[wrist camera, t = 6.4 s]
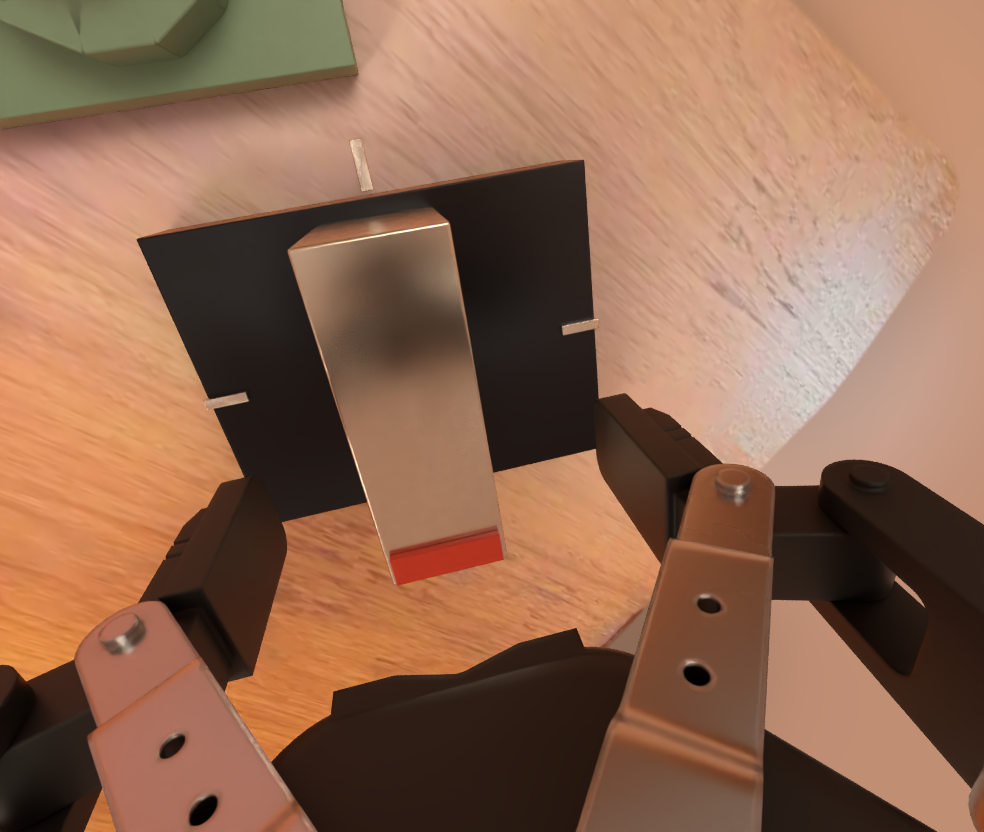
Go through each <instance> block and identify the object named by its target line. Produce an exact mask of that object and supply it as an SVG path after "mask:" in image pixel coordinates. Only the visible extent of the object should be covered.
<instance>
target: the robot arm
mask: <svg viewBox="0 0 984 832" xmlns="http://www.w3.org/2000/svg"><path fill="white" fill-rule="evenodd" d="M593 415H594V429H595V442H596V455H597V461H598V465H599V469H600V472H601V474H602V476H603V478H604V480H605V482H606V483H607V484H608V486H609V487H610V489H611V490H612V492H613V493H614V495H615V496H616V498H617V499H618V501H619V502H620V504H621V505H622V507H623V508H624V510H625V511H626V513H627V514H628V516H629V517H630V519H631V520H632V522H633V523H634V525H635V526H636V528H637V529H638V531H639V532H640V534H641V535H642V537H643V538H644V540H645V541H646V543H647V544H648V546H649V547H650V549H651V550H652V552H653V553H654V554H655V556H656V557H657V559H658V560H659V562H660V563H661V567H660V570H659V574H658V577H657V581H656V584H655V588H654V591H653V594H652V598H651V601H650V605H649V608H648V612H647V615H646V618H645V622H644V625H643V629H642V632H641V636H640V639H639V642H638V646H637V649H636V653H635V655H633V654H630V653H627V652H623V651H619V650H614V649H610V648H601V647H584V646H583V643H582V641H581V638H580V636H579V633H578V631H577V628H575V629H571V630H567V631H563V632H560V633H556V634H552V635H548V636H544V637H540V638H537V639H533V640H529V641H525V642H521V643H518V644H516V645H514V646H512V647H510V648H508V649H507V650H505V651H503V652H501V653H499V654H497V655H495V656H493V657H491V658H489V659H487V660H485V661H484V662H482V663H480V664H478V665H476V666H474V667H472V668H470V669H468V670H466V671H464V672H462V673H458V674H444V675H397V676H391V677H388V678H384V679H380V680H376V681H372V682H368V683H365V684H361V685H357V686H353V687H349V688H345V689H342V690H338V691H334V692H333V701H332V709H331V715H329V716H327V717H326V718H324V719H322V720H321V721H319V722H318V723H316V724H314V725H313V726H311V727H310V728H308V729H307V730H306V731H305V732H303V733H302V734H301V735H299V736H298V737H297V738H296V739H294V740H293V741H292V742H291V743H290V744H289V745H288V746H287V747H286V748H285V749H283V750H282V751H281V752H280V753H279V754H278V756H277V757H276V758H275V759H274V760H273V761H272V762H270V760H269V759H268V757H267V756H266V754H265V753H264V751H263V750H262V748H261V747H260V745H259V744H258V742H257V741H256V739H255V738H254V736H253V735H252V733H251V732H250V730H249V729H248V727H247V726H246V724H245V723H244V721H243V720H242V718H241V717H240V715H239V714H238V712H237V711H236V709H235V707H234V706H233V704H232V703H231V701H230V700H229V698H228V697H227V695H226V694H225V689H226V686H227V683H228V682H229V681H233V680H237V679H241V678H245V677H249V676H253V672H254V668H255V665H256V661H257V658H258V654H259V650H260V647H261V643H262V640H263V636H264V633H265V629H266V625H267V622H268V618H269V615H270V611H271V607H272V604H273V600H274V597H275V593H276V590H277V586H278V582H279V579H280V575H281V572H282V568H283V564H284V561H285V557H286V553H287V539H286V534H285V530H284V527H283V525H282V523H281V521H280V518H279V516H278V514H277V512H276V509H275V507H274V505H273V503H272V500H271V498H270V496H269V494H268V491H267V489H266V487H265V485H264V483H263V481H262V479H261V478H260V477H259V476H257V475H254V476H250V477H245V478H241V479H236V480H232V481H228V482H223V483H221V484H220V486H219V487H218V489H217V491H216V493H215V494H214V496H213V498H212V500H211V502H210V504H209V505H208V507H207V508H204V509H201V510H200V511H199V512H198V513H197V514H196V515H195V516H194V517H192V518H191V519H190V520H189V521H188V522H187V523H186V524H185V525H184V526H183V528H182V529H181V531H180V533H179V534H178V536H177V538H176V539H175V541H174V546H171V548H170V550H169V551H168V553H167V555H166V560H163V562H162V563H161V565H160V567H159V568H158V570H157V572H156V574H155V575H154V577H153V579H152V580H151V582H150V584H149V585H148V587H147V589H146V591H145V592H144V594H143V596H142V597H141V599H140V601H139V602H138V603H137V604H134V605H131V606H129V607H127V608H124V609H122V610H120V611H118V612H117V613H115V614H113V615H111V616H110V617H108V618H107V619H105V620H104V621H103V622H101V623H100V624H99V625H98V626H96V627H95V628H94V629H93V630H92V631H91V632H90V633H89V634H88V635H87V636H86V637H85V638H84V640H83V641H82V642H81V644H80V645H79V647H78V649H77V651H76V653H75V658H74V660H73V661H70V662H68V663H66V664H64V665H62V666H59V667H57V668H55V669H53V670H51V671H48V672H46V673H44V674H42V675H40V676H38V677H35V678H33V679H31V680H29V681H27V682H26V681H25V680H24V679H23V678H22V677H21V675H20V674H19V673H18V672H17V671H16V670H15V669H14V668H13V667H11V666H9V665H0V832H84V830H85V828H86V825H87V823H88V821H89V818H90V816H91V814H92V811H93V809H94V806H95V804H96V802H97V799H98V797H99V794H100V792H101V790H102V788H103V791H104V794H105V798H106V801H107V804H108V807H109V810H110V813H111V816H112V819H113V823H114V826H115V829H116V832H937V831H935V830H934V829H932V828H930V827H928V826H927V825H925V824H923V823H922V822H920V821H918V820H917V819H915V818H913V817H912V816H910V815H908V814H907V813H905V812H903V811H902V810H900V809H898V808H897V807H895V806H893V805H891V804H890V803H888V802H886V801H885V800H883V799H881V798H880V797H878V796H876V795H875V794H873V793H871V792H870V791H868V790H866V789H865V788H863V787H861V786H860V785H858V784H856V783H854V782H853V781H851V780H849V779H848V778H846V777H844V776H843V775H841V774H839V773H838V772H836V771H834V770H833V769H831V768H829V767H827V766H826V765H824V764H823V763H821V762H819V761H817V760H816V759H814V758H812V757H811V756H809V755H807V754H806V753H804V752H802V751H801V750H799V749H797V748H795V747H794V746H792V745H791V744H789V743H787V742H786V741H784V740H782V739H781V738H779V737H777V736H776V735H774V734H772V733H771V732H769V731H767V730H765V709H766V692H767V673H768V654H769V634H770V616H771V600H808V601H810V603H811V604H812V605H813V606H814V607H815V608H816V610H817V611H818V612H819V613H820V614H821V615H822V616H823V618H824V619H825V620H826V621H827V622H828V623H829V625H830V626H831V627H832V628H833V629H834V630H835V632H836V633H837V634H838V635H839V636H840V637H841V638H842V640H844V642H845V643H846V644H847V645H848V647H849V648H850V649H851V650H852V651H853V652H854V653H855V655H856V656H857V657H858V658H859V659H860V660H861V662H862V663H863V664H864V665H865V666H866V667H867V669H869V671H870V672H871V673H872V674H873V676H874V677H875V678H876V679H877V680H878V681H879V682H880V684H881V685H882V686H883V687H884V688H885V689H886V691H887V692H888V693H889V694H890V695H891V696H892V698H893V699H894V700H895V701H896V702H897V703H898V704H899V705H900V707H901V708H902V709H903V710H904V711H905V712H906V714H907V715H908V716H909V717H910V718H911V719H912V721H913V722H914V723H915V724H916V725H917V726H918V727H919V729H920V730H921V731H922V732H923V733H924V735H925V736H926V737H927V738H928V739H929V740H930V741H931V743H932V744H933V745H934V746H935V747H936V748H937V750H938V751H939V752H940V753H941V754H942V755H943V757H944V758H945V759H946V760H947V761H948V762H949V763H950V765H951V766H952V767H953V768H954V769H955V770H956V771H957V773H958V774H959V775H960V776H961V777H962V778H963V779H964V781H965V782H966V783H967V784H968V785H969V787H970V788H971V792H970V795H969V810H970V815H971V818H972V821H973V824H974V826H975V828H976V830H977V832H984V525H983V524H982V523H980V522H979V521H977V520H976V519H974V518H973V517H971V516H969V515H968V514H967V513H965V512H963V511H962V510H960V509H959V508H957V507H956V506H954V505H953V504H951V503H950V502H948V501H947V500H945V499H944V498H942V497H941V496H939V495H937V494H936V493H935V492H933V491H931V490H930V489H928V488H927V487H925V486H924V485H922V484H921V483H919V482H918V481H916V480H915V479H913V478H912V477H910V476H909V475H907V474H905V473H904V472H902V471H900V470H898V469H896V468H894V467H891V466H888V465H885V464H882V463H878V462H873V461H866V460H844V461H838V462H834V463H832V464H829V465H828V466H826V467H825V468H824V469H823V472H822V474H821V480H820V485H817V486H774V484H773V482H772V481H771V479H770V478H769V477H767V476H766V475H765V474H763V473H762V472H760V471H758V470H756V469H753V468H750V467H747V466H743V465H737V464H723V463H722V462H721V461H720V460H718V459H717V458H716V457H715V456H714V455H713V454H712V453H711V452H710V451H709V450H707V449H706V448H705V447H704V446H703V445H702V444H701V443H700V442H699V441H697V440H696V439H695V438H694V437H691V434H690V433H689V432H687V431H686V430H685V429H684V428H681V425H680V424H679V423H677V422H676V421H675V420H674V419H673V418H672V417H671V416H670V415H668V414H665V413H663V412H660V411H658V410H655V409H653V408H647V409H642V408H641V407H639V406H638V405H637V404H636V403H635V402H634V401H633V400H632V399H631V398H630V397H629V396H628V395H627V394H625V393H623V394H619V395H614V396H610V397H605V398H601V399H596V400H595V401H594V403H593ZM896 575H897V576H898V577H899V578H900V579H901V580H902V581H903V582H904V583H906V584H907V585H908V586H909V587H910V588H911V589H912V590H913V591H914V592H916V594H917V595H918V596H919V598H920V599H921V600H922V602H923V604H924V606H925V607H923V606H922V605H921V604H920V603H919V602H918V601H917V600H916V599H915V598H913V597H912V596H911V595H910V594H909V593H908V592H907V591H906V590H904V589H903V588H902V587H901V586H900V585H899V584H898V583H897V582H896V581H895V577H896Z"/></svg>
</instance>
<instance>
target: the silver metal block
mask: <svg viewBox="0 0 984 832" xmlns="http://www.w3.org/2000/svg"><path fill="white" fill-rule="evenodd" d="M288 256H289V259H290V262H291V265H292V268H293V271H294V274H295V277H296V281H297V284H298V287H299V290H300V293H301V296H302V299H303V302H304V306H305V309H306V312H307V315H308V318H309V321H310V324H311V328H312V331H313V334H314V337H315V340H316V343H317V346H318V349H319V353H320V356H321V359H322V362H323V365H324V368H325V371H326V374H327V378H328V381H329V384H330V387H331V390H332V393H333V396H334V399H335V403H336V406H337V409H338V412H339V415H340V418H341V421H342V424H343V428H344V431H345V434H346V437H347V440H348V443H349V446H350V450H351V453H352V456H353V459H354V462H355V465H356V468H357V471H358V475H359V478H360V481H361V484H362V487H363V490H364V493H365V496H366V500H367V503H368V506H369V509H370V512H371V515H372V518H373V521H374V525H375V528H376V531H377V534H378V537H379V540H380V543H381V546H382V550H383V553H384V556H385V559H386V562H387V565H388V568H389V572H390V575H391V578H392V581H393V583H394V585H402V584H406V583H410V582H414V581H418V580H422V579H426V578H430V577H434V576H439V575H443V574H447V573H451V572H455V571H459V570H463V569H467V568H471V567H475V566H479V565H483V564H487V563H492V562H496V561H500V560H503V559H504V558H506V557H507V550H506V544H505V538H504V533H503V527H502V521H501V515H500V509H499V504H498V498H497V492H496V486H495V480H494V475H493V469H492V463H491V457H490V452H489V446H488V440H487V434H486V428H485V423H484V417H483V411H482V405H481V399H480V394H479V388H478V382H477V376H476V370H475V365H474V359H473V353H472V347H471V341H470V336H469V330H468V324H467V318H466V313H465V307H464V301H463V295H462V289H461V284H460V278H459V272H458V266H457V260H456V255H455V249H454V243H453V237H452V231H451V226H450V223H449V221H448V220H447V219H445V218H444V217H443V216H442V215H441V214H440V213H438V212H437V211H436V210H435V209H434V208H433V207H431V206H429V205H428V206H423V207H417V208H411V209H405V210H399V211H394V212H388V213H382V214H376V215H370V216H365V217H359V218H353V219H347V220H341V221H336V222H330V223H324V224H319V225H317V226H316V227H315V228H314V229H313V230H311V231H310V232H309V233H308V234H306V235H305V236H304V237H303V238H302V239H300V240H299V241H298V242H297V243H296V244H294V245H293V246H292V247H291V248H289V249H288Z"/></svg>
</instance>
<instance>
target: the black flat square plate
mask: <svg viewBox="0 0 984 832" xmlns="http://www.w3.org/2000/svg"><path fill="white" fill-rule="evenodd" d="M349 142H350V146H351V150H352V155H353V159H354V163H355V167H356V171H357V175H358V179H359V183H360V187H361V191H362V192H364V191H370V190H373V185H372V181H371V177H370V173H369V168H368V164H367V160H366V156H365V152H364V147H363V143H362V139H354V140H349ZM428 205H429V206H431V207H433V208H434V209H435V210H436V211H437V212H438V213H440V214H441V215H442V216H443V217H444V218H445V219H447V220H448V221H449V223H450V226H451V231H452V237H453V243H454V249H455V255H456V260H457V266H458V272H459V278H460V284H461V289H462V295H463V301H464V307H465V313H466V318H467V324H468V330H469V336H470V341H471V347H472V353H473V359H474V365H475V370H476V376H477V382H478V388H479V394H480V399H481V405H482V411H483V417H484V423H485V428H486V434H487V440H488V446H489V452H490V457H491V463H492V469H493V473H494V472H498V471H503V470H507V469H511V468H515V467H520V466H524V465H528V464H533V463H537V462H541V461H545V460H550V459H554V458H558V457H563V456H567V455H571V454H575V453H580V452H584V451H588V450H593V449H596V442H595V429H594V415H593V403H594V401H595V400H596V399H599V395H598V379H597V363H596V346H595V330H594V329H596V328H599V324H598V318H594V313H593V297H592V281H591V264H590V248H589V232H588V215H587V199H586V182H585V166H584V160H568V161H557V162H551V163H545V164H539V165H534V166H528V167H522V168H517V169H511V170H505V171H500V172H494V173H488V174H483V175H477V176H471V177H466V178H460V179H454V180H449V181H443V182H437V183H432V184H426V185H420V186H415V187H409V188H403V189H398V190H392V191H386V192H381V193H375V194H369V195H363V196H358V197H352V198H346V199H341V200H335V201H329V202H324V203H318V204H312V205H307V206H301V207H295V208H290V209H284V210H278V211H273V212H267V213H261V214H256V215H250V216H244V217H239V218H233V219H227V220H222V221H216V222H210V223H204V224H199V225H193V226H187V227H182V228H176V229H170V230H166V231H163V232H159V233H155V234H152V235H148V236H145V237H141V238H138V239H137V242H138V244H139V246H140V248H141V250H142V253H143V255H144V257H145V259H146V261H147V264H148V266H149V268H150V270H151V272H152V275H153V277H154V279H155V281H156V283H157V286H158V288H159V290H160V292H161V294H162V297H163V299H164V301H165V303H166V305H167V308H168V310H169V312H170V314H171V316H172V319H173V321H174V323H175V325H176V327H177V330H178V332H179V334H180V336H181V338H182V341H183V343H184V345H185V347H186V349H187V352H188V354H189V356H190V358H191V360H192V363H193V365H194V367H195V369H196V371H197V374H198V376H199V378H200V380H201V382H202V385H203V387H204V389H205V391H206V393H207V396H208V398H209V399H205V400H204V402H205V404H206V407H207V409H208V410H210V409H214V411H215V413H216V415H217V418H218V420H219V422H220V424H221V426H222V429H223V431H224V433H225V435H226V437H227V440H228V442H229V444H230V446H231V448H232V451H233V453H234V455H235V457H236V459H237V462H238V464H239V466H240V468H241V470H242V473H243V475H244V477H250V476H254V475H257V476H259V477H260V478H261V479H262V481H263V483H264V485H265V487H266V489H267V491H268V494H269V496H270V498H271V500H272V503H273V505H274V507H275V509H276V512H277V514H278V516H279V518H280V521H281V522H284V521H289V520H293V519H297V518H301V517H306V516H310V515H314V514H319V513H323V512H327V511H331V510H336V509H340V508H344V507H349V506H353V505H357V504H361V503H366V502H367V500H366V496H365V493H364V490H363V487H362V484H361V481H360V478H359V475H358V471H357V468H356V465H355V462H354V459H353V456H352V453H351V450H350V446H349V443H348V440H347V437H346V434H345V431H344V428H343V424H342V421H341V418H340V415H339V412H338V409H337V406H336V403H335V399H334V396H333V393H332V390H331V387H330V384H329V381H328V378H327V374H326V371H325V368H324V365H323V362H322V359H321V356H320V353H319V349H318V346H317V343H316V340H315V337H314V334H313V331H312V328H311V324H310V321H309V318H308V315H307V312H306V309H305V306H304V302H303V299H302V296H301V293H300V290H299V287H298V284H297V281H296V277H295V274H294V271H293V268H292V265H291V262H290V259H289V256H288V249H289V248H291V247H292V246H293V245H294V244H296V243H297V242H298V241H299V240H300V239H302V238H303V237H304V236H305V235H306V234H308V233H309V232H310V231H311V230H313V229H314V228H315V227H316V226H317V225H319V224H324V223H330V222H336V221H341V220H347V219H353V218H359V217H365V216H370V215H376V214H382V213H388V212H394V211H399V210H405V209H411V208H417V207H423V206H428Z"/></svg>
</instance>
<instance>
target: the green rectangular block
mask: <svg viewBox="0 0 984 832" xmlns="http://www.w3.org/2000/svg"><path fill="white" fill-rule="evenodd" d="M353 75H358V68H357V64H356V60H355V55H354V51H353V46H352V42H351V38H350V33H349V29H348V25H347V20H346V16H345V11H344V7H343V3H342V0H0V129H7V128H14V127H20V126H27V125H33V124H40V123H46V122H53V121H59V120H66V119H72V118H79V117H85V116H92V115H98V114H105V113H111V112H118V111H124V110H131V109H137V108H144V107H150V106H157V105H164V104H170V103H177V102H183V101H190V100H196V99H203V98H209V97H216V96H222V95H229V94H235V93H242V92H248V91H255V90H261V89H268V88H274V87H281V86H287V85H294V84H300V83H307V82H313V81H320V80H327V79H333V78H340V77H346V76H353Z"/></svg>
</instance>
